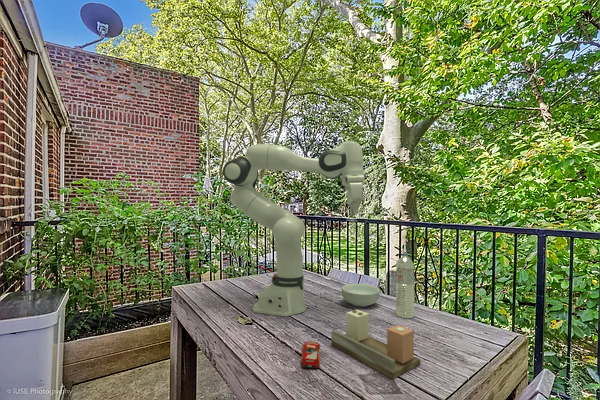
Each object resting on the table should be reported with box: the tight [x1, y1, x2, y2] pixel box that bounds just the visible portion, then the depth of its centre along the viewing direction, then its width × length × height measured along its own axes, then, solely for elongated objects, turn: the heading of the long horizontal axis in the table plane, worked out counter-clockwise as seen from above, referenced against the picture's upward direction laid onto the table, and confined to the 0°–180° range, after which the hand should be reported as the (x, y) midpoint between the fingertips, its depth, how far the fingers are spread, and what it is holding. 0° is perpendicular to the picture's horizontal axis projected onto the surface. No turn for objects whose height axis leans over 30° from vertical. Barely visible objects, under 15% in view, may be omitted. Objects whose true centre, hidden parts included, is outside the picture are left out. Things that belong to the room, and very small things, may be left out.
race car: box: [300, 340, 322, 369], centre depth 87 cm, size 13×5×4 cm, turn 174°
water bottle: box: [395, 252, 415, 320], centre depth 120 cm, size 7×7×25 cm
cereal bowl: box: [341, 283, 381, 308], centre depth 135 cm, size 17×17×7 cm
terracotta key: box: [386, 324, 415, 364], centre depth 83 cm, size 5×5×8 cm
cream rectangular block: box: [345, 309, 370, 341], centre depth 96 cm, size 5×5×8 cm
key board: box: [330, 329, 421, 380], centre depth 89 cm, size 12×23×4 cm, turn 36°
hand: (354, 214), depth 121 cm, fingers open, 8 cm apart
